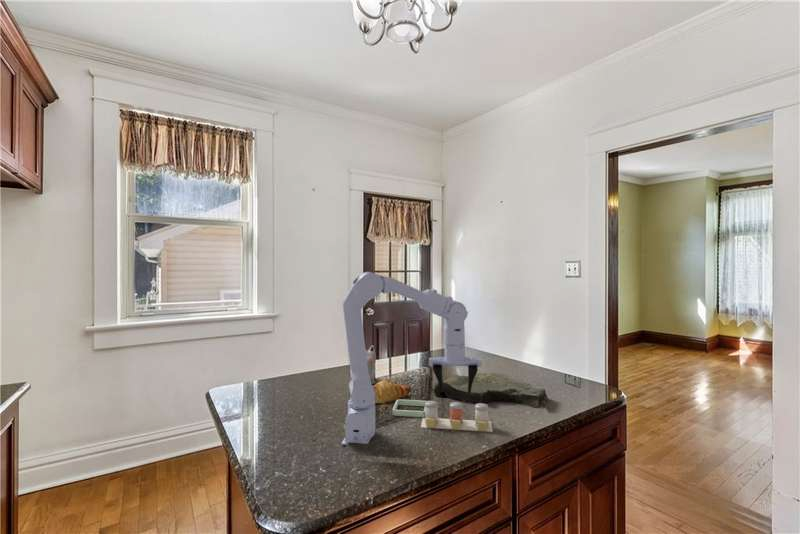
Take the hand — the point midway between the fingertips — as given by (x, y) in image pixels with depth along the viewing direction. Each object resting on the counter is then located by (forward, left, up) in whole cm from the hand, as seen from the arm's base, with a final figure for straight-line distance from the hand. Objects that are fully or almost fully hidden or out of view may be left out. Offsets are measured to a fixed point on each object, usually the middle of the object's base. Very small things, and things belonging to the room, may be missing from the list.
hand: (455, 391), depth 107 cm
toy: (+36, +35, -10) cm, 51 cm away
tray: (+8, +14, -10) cm, 19 cm away
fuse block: (0, 0, -10) cm, 10 cm away
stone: (+25, -11, -11) cm, 30 cm away
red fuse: (0, 0, -9) cm, 9 cm away
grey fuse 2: (0, -7, -9) cm, 12 cm away
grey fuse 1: (0, +7, -9) cm, 11 cm away
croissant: (+17, +25, -11) cm, 32 cm away
